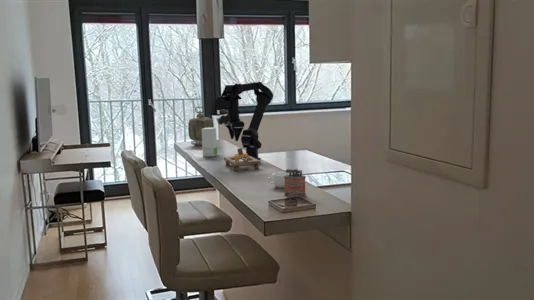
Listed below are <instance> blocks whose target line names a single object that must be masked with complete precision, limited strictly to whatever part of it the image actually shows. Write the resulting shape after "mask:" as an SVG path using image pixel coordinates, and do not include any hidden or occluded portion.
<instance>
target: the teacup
mask: <svg viewBox="0 0 534 300" xmlns="http://www.w3.org/2000/svg"><path fill="white" fill-rule="evenodd" d="M271 174H272V175H271V176H268V177H267V182H268V183H269V184H270V185H274V186H275V187H276V188H278V189H285V178H284V175H289V173H286V171H275V172H273V173H271ZM292 174H293V173H291V175H292ZM269 179H271V180H272V181H269Z"/></svg>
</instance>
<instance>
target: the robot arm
mask: <svg viewBox="0 0 534 300" xmlns="http://www.w3.org/2000/svg"><path fill="white" fill-rule="evenodd" d="M248 91H253V93H254V95H255V97H256V99H255V100H256V107H255V109H254V111H253V115H252V117H251V120H250V123H249V126H248V128H247V129H244V128H245V122H244V121H243V120H241V118H240V113H241V111H240V108H239V107H240V105H239V104H240V103H239V102H240V100H242V97H241V96H240V95H241V94H243V93H244V92H248ZM273 99H274V93H273V92H272V90H271V89H270V88H269V87H267V86H266V85H264V83H263V82H261V81H252V82H246V83H245V82H244V83H226V84H225V86H224V88H223V90H222V93H221V95H220V96H219V95H218V96H216V99H215V101H214V103H213V105H214V108H215V110H217V111H225V110H226V111H225V114H222V115H220V116H218V117H216V121H217V124H218V125H221V126H222V125H224V127H226V128H227V129H228V133H229V136H230V139H231V140H233V139H234V140H235V142H238V141H239V139H240V142H241V144H242V149H245V153H247V154H248V155H250V156H252V157H253V158H255V159H257V160H260V159H262V158H261V157H259V149H261V148H262V142H261V141H260V140H259V128H260V125H261V122H262V120H263V117H264V114H265V111H266V108H267V107H268V106H269V105H270V104H271V102H272V101H273ZM240 137H241V138H240Z"/></svg>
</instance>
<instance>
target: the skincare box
mask: <svg viewBox="0 0 534 300" xmlns="http://www.w3.org/2000/svg"><path fill="white" fill-rule="evenodd" d="M201 130H202V141H201V143H202V144H201V146H202V157H206V158H207V157H215V156H218V142H217V141H218V140H217V127H216V126H214V128H203V129H201Z"/></svg>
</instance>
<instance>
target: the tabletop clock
mask: <svg viewBox="0 0 534 300" xmlns="http://www.w3.org/2000/svg"><path fill="white" fill-rule="evenodd" d="M199 108H201V109H203V111H201V110H199V111H197V109H199ZM194 111H195V112H196V113H197V114H196V116H195V118H191V119H189V120H188V123H187V124H188V128H187V129H188V137H189V139H190V140H192V141H195V143H198V142H199V143H198V144H197V145H198V146H199V145H201V146H202V144H201V143H202V130H201V129H203V128H214V127H215V126H214V125H215V124H214V121H213V119H212V118H211V117H205V115H204V113H205V108H204V107H203V106H196V107H195V109H194Z"/></svg>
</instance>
